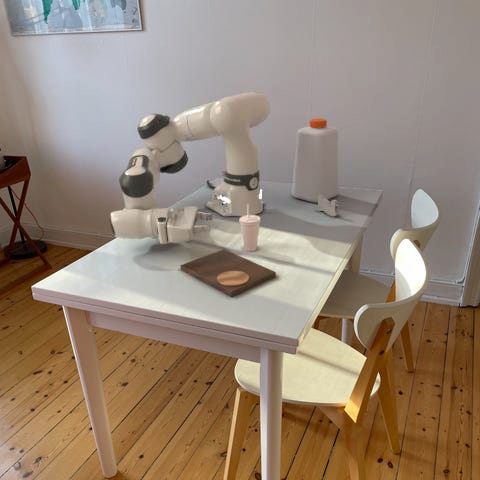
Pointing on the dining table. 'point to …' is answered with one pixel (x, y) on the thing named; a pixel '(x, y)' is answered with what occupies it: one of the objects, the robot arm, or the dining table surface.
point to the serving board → (228, 272)
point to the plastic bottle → (316, 162)
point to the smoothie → (250, 230)
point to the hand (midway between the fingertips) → (210, 222)
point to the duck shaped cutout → (328, 206)
